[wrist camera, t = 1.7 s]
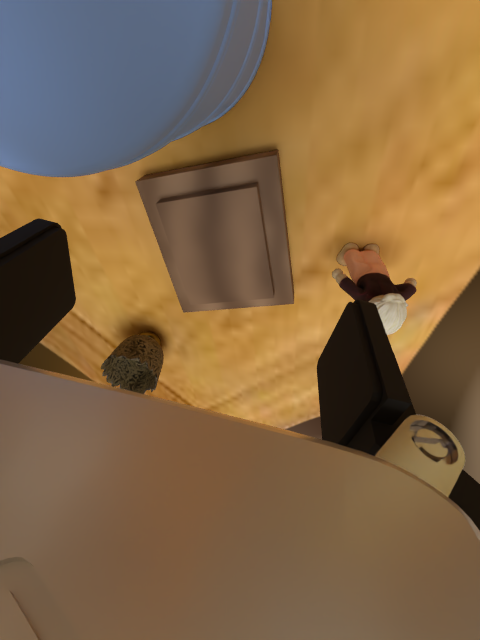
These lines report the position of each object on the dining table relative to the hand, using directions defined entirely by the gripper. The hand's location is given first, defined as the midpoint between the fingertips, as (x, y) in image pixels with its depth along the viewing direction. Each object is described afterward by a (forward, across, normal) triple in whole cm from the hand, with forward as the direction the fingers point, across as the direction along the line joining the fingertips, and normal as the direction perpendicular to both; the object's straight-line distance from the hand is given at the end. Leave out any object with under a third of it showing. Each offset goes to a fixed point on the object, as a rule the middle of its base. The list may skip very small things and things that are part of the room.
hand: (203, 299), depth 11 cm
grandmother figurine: (+25, -13, +7) cm, 30 cm away
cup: (+26, +10, +28) cm, 39 cm away
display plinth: (+25, +2, +9) cm, 27 cm away
